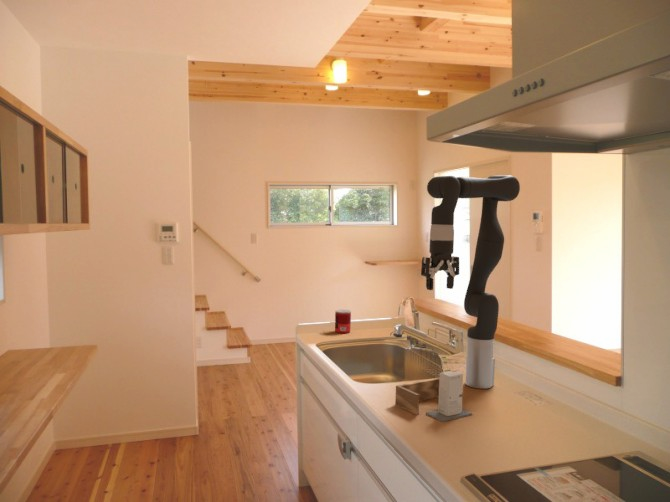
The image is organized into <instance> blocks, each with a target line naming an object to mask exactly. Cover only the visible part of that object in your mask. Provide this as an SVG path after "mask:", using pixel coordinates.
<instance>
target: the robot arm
mask: <svg viewBox="0 0 670 502" xmlns="http://www.w3.org/2000/svg"><path fill="white" fill-rule="evenodd" d="M520 190H521V185H520V182H519V180H518V178H517V177H516V176H513V175H509V174H496V175H495V174H494V175H489V176H488V177H487V178H484V177H483V178H482V177H470V176H459V177H458V176H457V177H456V176H454V175H444V176H443V175H442V176H433V177H432V178H431V179H430V180H429V181H428V183H427V185H426V191H427V193H428V195H429V196H430V197H432V198H434V199H442V200H441V201H440V204H439V205H436V206H434V207H432V209H431V215H430V216H431V219H430V220H431V222H430V224H431V225H430V228H429V252H428V253H430V257H427V256H425V257H424V256H422V259H421V271H420V275H421V276H423V277H425V278H426V279H425V281H426V283H425V287H426V290H427V291H433V290H434V276H436V275H435V274H437V273H438V272H439V271H443V272H445V274H446V275H447V276H446V289H448V290H449V289H453V288H454V284H455V283H454V282H455V277H456V276H458V275H460V257H459V256H454V255H453V254H454V242H455V239H454V238H455V231H454V230H455V229H454V222H455V221H454V220H455V211H456V208H457V207H456V206H457V205H458V204H457V203H458V200H459V199H477V198H478V199H480V198H482V205H481V217H480V223H479V228H478V229H479V230H478V236H477V239H476V240H477V241H476V244H475V245H476V246H475V250H474V251H475V252H474V258H473V259H474V260H473V263H472V269H471V274H470V278H469V281H468V285H467V289H466V293H465V296H464V301H463V308H464V310H465V313H466V314H467V315H468V316H470V317H474V318H476V322H475V323H476V324H475V326H471V327H468V328H467V330H466V331H467V334H466V335H467V336H466V354H465V355H466V359H465V377H464V378H465V382H464V383H465V385H466V386H468V387H470V388H474V389H481V390H482V389H490V388H492V387H493V386H494V385H495V368H496V367H495V366H496V359H495V358H494V351H495V350H494V348H495V347H494V345H495V343H494V342H495V334H496V331H497V328H498V322H499V321H498V320H499V311H500V309H499V308H500V307H499V304H500V303H499V299H498V297H497V296H496V295H494V294H492V293H489V292H486V286H487V282H488V279H489V277H490V275H491V274H492V272H493V271H494V270H495V268H497V265H498V264H499V263H500V261H501V259H502V255H503V251H504V245H505V236H504V232H503V230H502V227H501V224H500V222H499V219H498V205H499V202H511V201H514V200H515V199H516V198H517V197H518V196H519V193H520Z"/></svg>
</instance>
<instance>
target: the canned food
mask: <svg viewBox="0 0 670 502" xmlns="http://www.w3.org/2000/svg"><path fill="white" fill-rule="evenodd" d="M351 311H352V310H350V309H336V310H335V312H334V313H335V314H334V316H335V317H334V318H335V319H334V331H335V333H337V334H340V335H341V334H342V335H345V334H350V333H351V323H352V321H351V319H352V312H351Z"/></svg>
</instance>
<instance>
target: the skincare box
mask: <svg viewBox="0 0 670 502" xmlns="http://www.w3.org/2000/svg"><path fill="white" fill-rule="evenodd" d="M438 378H439V397H438V402H437V403H438V407H437V408H438V409H437V410H438V412H439V413H441V414H443V415H445V416H451V415H456V414H460V413H462V409H463V390H464V388H463V386H464V385H463V384H464V373H462V372H458V371H457V370H456V371H455V370H450V371H449V370H448V371H443V372H439V377H438Z"/></svg>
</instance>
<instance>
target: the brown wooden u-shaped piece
mask: <svg viewBox="0 0 670 502" xmlns="http://www.w3.org/2000/svg"><path fill="white" fill-rule="evenodd" d="M434 398H439V377H436V378H432V379H431V378H430V379H425V380H420V381H415V382H409V383H403V384H398V385H396V386H395V401H394V403H395V406H398V407H399V408H401V409H404V410H406V411H407V412H410V413H411V414H414V415H416V416H417V415H419V412H420V411H419V410H420V401H421V402H422V401H425V400H431V399H434Z"/></svg>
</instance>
